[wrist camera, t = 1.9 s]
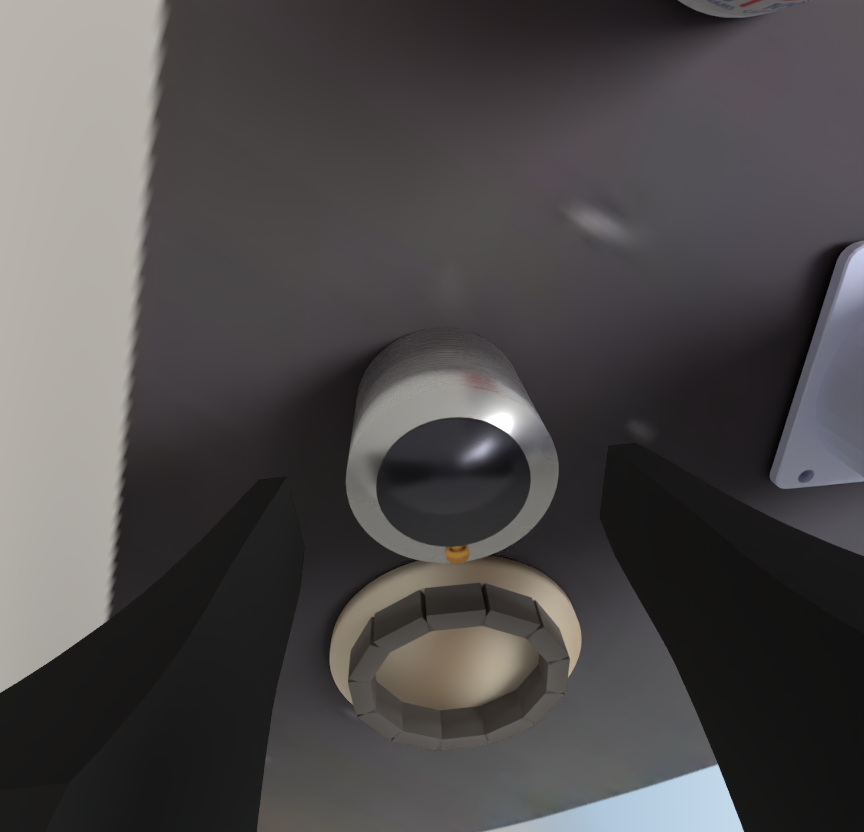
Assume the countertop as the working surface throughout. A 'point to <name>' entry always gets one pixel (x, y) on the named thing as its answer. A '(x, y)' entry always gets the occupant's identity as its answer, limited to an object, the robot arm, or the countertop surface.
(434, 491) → the lens
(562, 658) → the mount
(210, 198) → the countertop surface
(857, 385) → the robot arm
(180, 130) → the countertop surface
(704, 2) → the pill bottle
